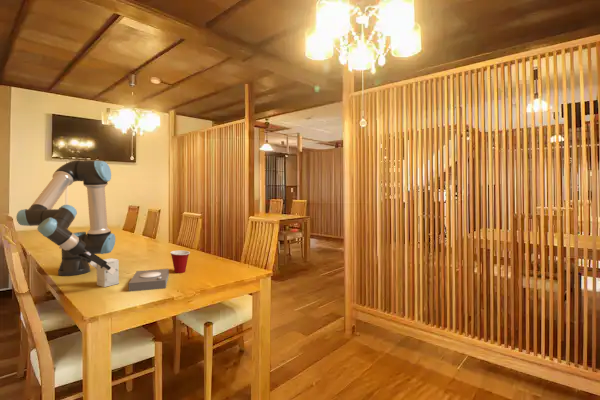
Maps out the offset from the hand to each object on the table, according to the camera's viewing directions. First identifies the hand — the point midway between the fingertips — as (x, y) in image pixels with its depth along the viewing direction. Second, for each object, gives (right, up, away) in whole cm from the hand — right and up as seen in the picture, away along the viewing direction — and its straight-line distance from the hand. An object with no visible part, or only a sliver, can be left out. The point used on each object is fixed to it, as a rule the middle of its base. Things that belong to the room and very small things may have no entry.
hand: (107, 270), depth 162 cm
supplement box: (0, -8, +1) cm, 8 cm away
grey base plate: (+20, -7, +4) cm, 22 cm away
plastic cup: (+27, -7, +26) cm, 38 cm away
